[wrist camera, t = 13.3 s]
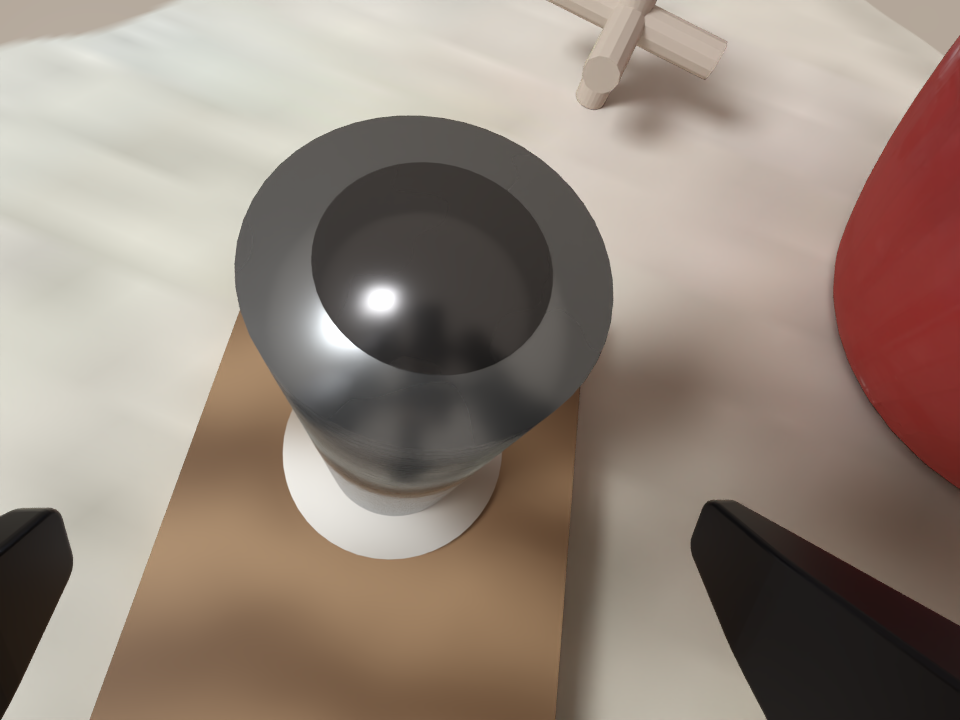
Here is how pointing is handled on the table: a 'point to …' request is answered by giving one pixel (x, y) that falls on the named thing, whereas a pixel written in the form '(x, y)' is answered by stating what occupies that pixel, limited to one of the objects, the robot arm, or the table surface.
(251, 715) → the mounting plate
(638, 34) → the pipe connector
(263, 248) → the steel hub
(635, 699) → the table surface
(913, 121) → the mixing bowl
